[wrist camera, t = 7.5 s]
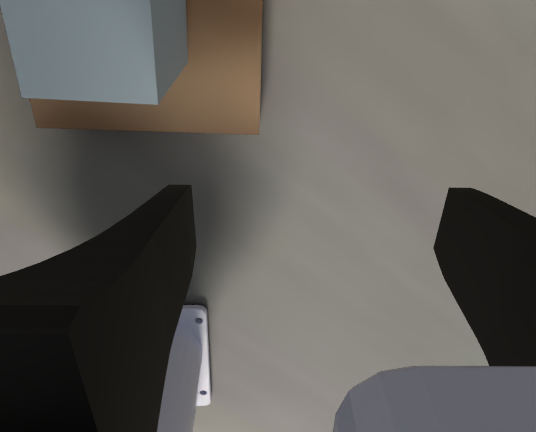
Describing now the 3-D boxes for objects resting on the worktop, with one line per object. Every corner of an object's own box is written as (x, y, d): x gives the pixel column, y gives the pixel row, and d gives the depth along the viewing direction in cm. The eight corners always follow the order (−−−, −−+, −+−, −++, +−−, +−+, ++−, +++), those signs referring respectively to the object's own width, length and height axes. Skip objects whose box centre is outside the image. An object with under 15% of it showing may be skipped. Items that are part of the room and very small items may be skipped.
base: (259, 120, 22) (259, 134, 20) (54, 113, 21) (36, 127, 20) (266, -137, 16) (266, -148, 15) (-3, -150, 16) (-35, -163, 14)
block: (187, 62, 18) (157, 104, 13) (90, 57, 18) (21, 97, 13) (183, -50, 16) (146, -52, 11) (74, -57, 16) (-16, -63, 11)
